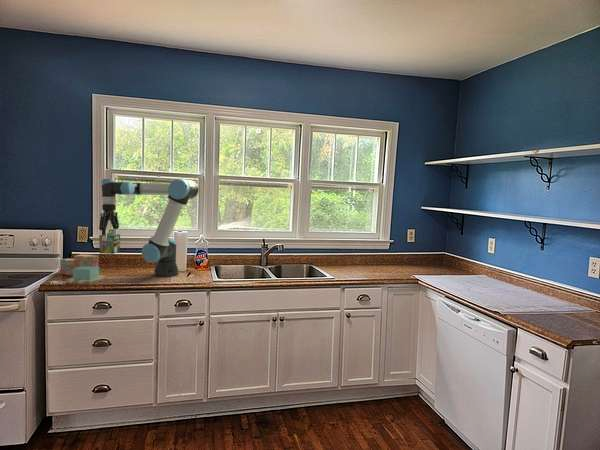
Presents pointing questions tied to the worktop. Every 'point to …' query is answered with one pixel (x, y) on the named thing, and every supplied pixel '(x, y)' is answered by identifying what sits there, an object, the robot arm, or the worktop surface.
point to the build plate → (85, 280)
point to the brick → (86, 272)
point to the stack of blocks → (78, 263)
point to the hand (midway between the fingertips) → (109, 239)
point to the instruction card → (57, 282)
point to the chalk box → (110, 243)
